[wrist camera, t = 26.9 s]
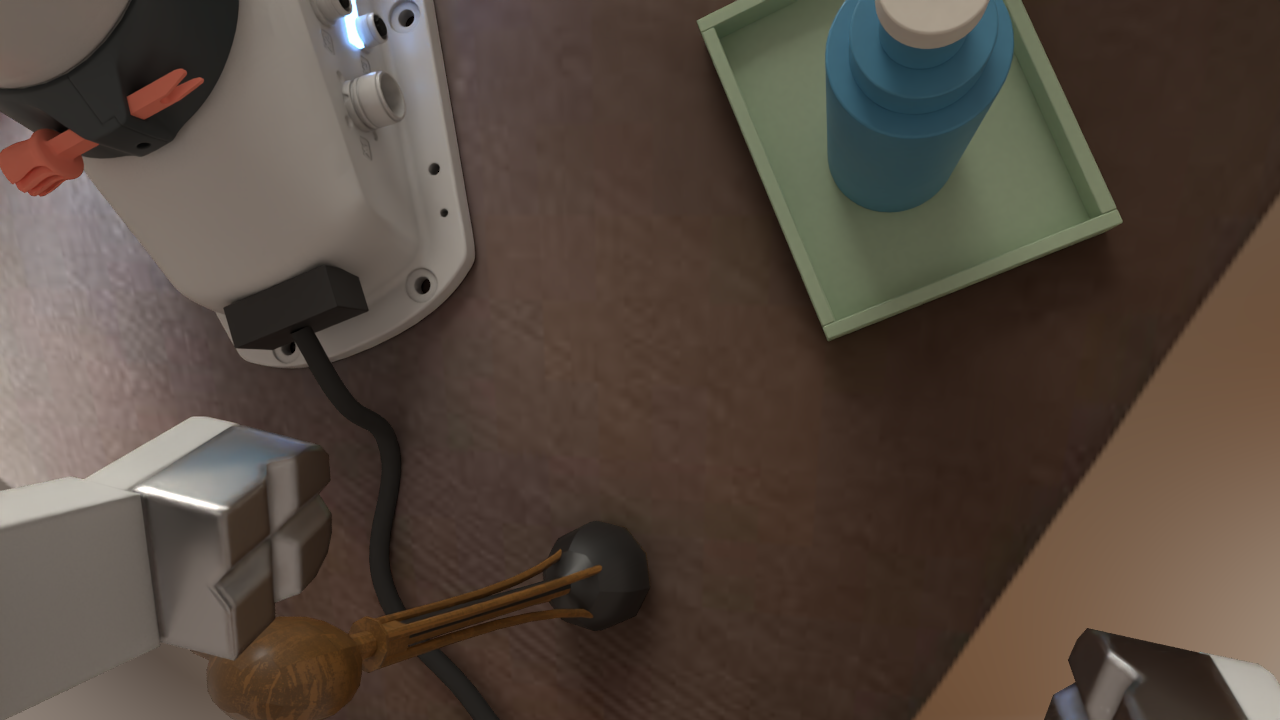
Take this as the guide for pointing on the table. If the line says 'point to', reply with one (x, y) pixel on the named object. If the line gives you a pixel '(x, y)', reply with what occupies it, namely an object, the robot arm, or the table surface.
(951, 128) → the bottle
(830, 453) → the table surface
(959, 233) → the tray
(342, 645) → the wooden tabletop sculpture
